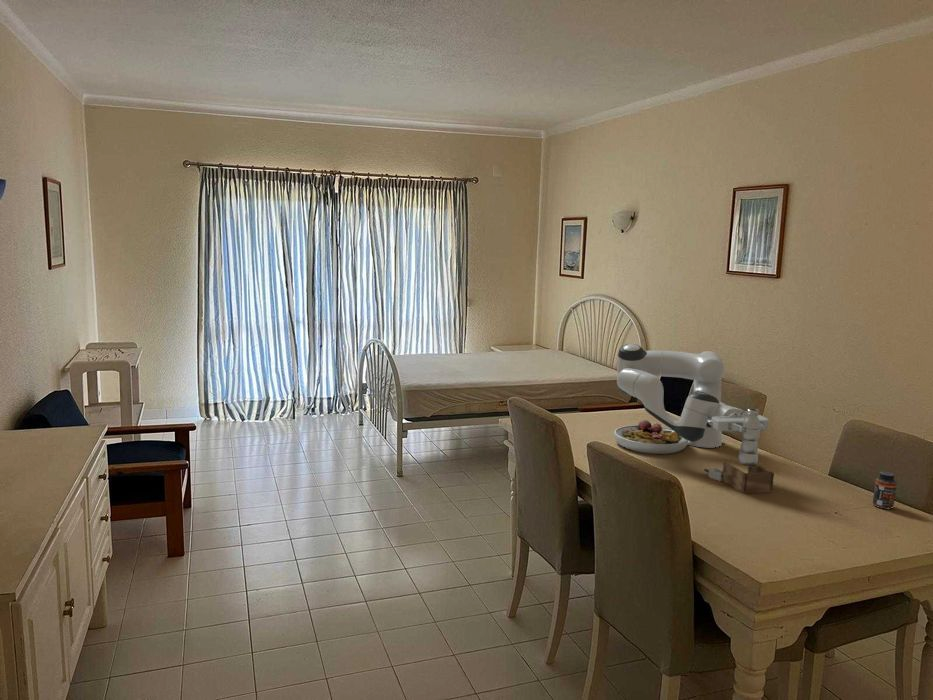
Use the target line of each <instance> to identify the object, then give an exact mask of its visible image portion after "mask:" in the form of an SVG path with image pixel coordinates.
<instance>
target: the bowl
mask: <svg viewBox="0 0 933 700" xmlns="http://www.w3.org/2000/svg"><path fill="white" fill-rule="evenodd" d="M613 437H614V440H615V441H616V443H617V444H618V445H620V446H621V447H623V448H624V447H625V449H628V450H629V449H630V451H633V452H638V453H641V454H642V453H643V454H651V455H668V454H674V453H678V452H681V451H683V449H685V448H686V447H687V446H688V445H687V443H688V440H685V439H683V438H682V437H681V436H680V435H678V434H677V433H676V432H675V431H673V430H672V429H671V428H669V427H666V426H665V427H663V426H662V425H661V424H660V423H654V424H653V425H652V422H650V421H649V420H645V419H644V420H641V421H640V422H638V424H636V425H635V424H633V425H624V426H620V427H617V428H616V429H615V430H614V432H613Z"/></svg>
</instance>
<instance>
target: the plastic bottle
mask: <svg viewBox="0 0 933 700" xmlns="http://www.w3.org/2000/svg"><path fill="white" fill-rule="evenodd" d="M747 410H748V411H747V415H748V416H747V417H746V418H745V419H744V420H743V422H742V426H744V427H745V432H741V444H740V450H739V453H738V457H737V459H738V463H739V464H740V465H741V466H744V467H748V466H755V465H756V464H757V465H758V461H759V457H758V455H759V454H758V451H759V450H758V447H759V446H758V443H759V439H760V433H761V431H760V430H761V422H760V420H759V419H758V416H759V415H760V414H759V413H760V412H759V409H757V408H747Z"/></svg>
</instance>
